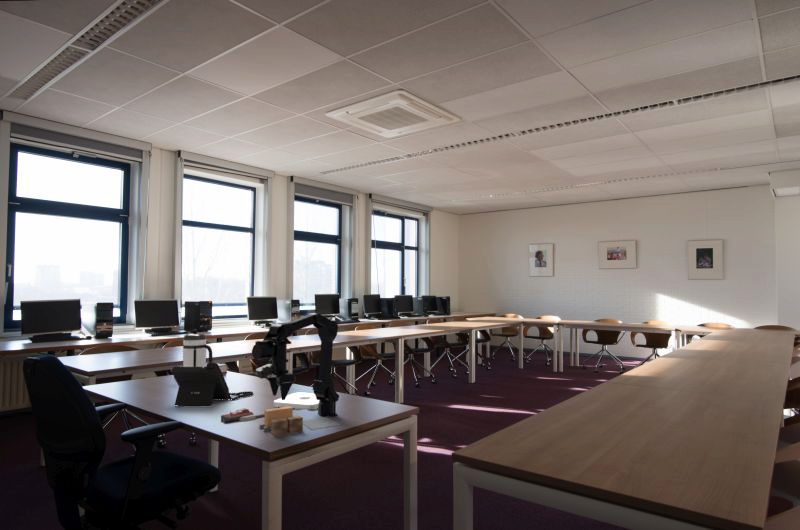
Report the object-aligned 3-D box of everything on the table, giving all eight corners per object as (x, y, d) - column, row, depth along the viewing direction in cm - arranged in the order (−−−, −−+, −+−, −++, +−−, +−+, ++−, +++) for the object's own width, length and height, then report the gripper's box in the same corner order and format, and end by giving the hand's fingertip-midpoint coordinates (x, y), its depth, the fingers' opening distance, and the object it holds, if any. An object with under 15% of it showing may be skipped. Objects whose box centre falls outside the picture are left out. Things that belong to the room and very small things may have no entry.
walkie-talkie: (227, 427, 191) (272, 417, 205) (227, 415, 192) (273, 406, 206) (217, 423, 198) (262, 413, 212) (217, 411, 198) (262, 403, 212)
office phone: (256, 394, 249) (256, 354, 250) (231, 408, 221) (232, 363, 222) (200, 393, 252) (201, 353, 253) (169, 406, 224) (170, 362, 225)
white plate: (313, 411, 215) (313, 405, 215) (270, 407, 222) (270, 401, 222) (336, 400, 236) (336, 394, 236) (296, 397, 243) (296, 391, 243)
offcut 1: (284, 431, 182) (284, 418, 182) (287, 433, 179) (287, 420, 179) (271, 434, 179) (271, 420, 179) (274, 436, 176) (274, 422, 177)
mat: (325, 418, 202) (325, 417, 202) (340, 425, 191) (340, 424, 191) (298, 423, 195) (298, 421, 195) (311, 431, 184) (311, 429, 184)
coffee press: (178, 384, 274) (179, 330, 275) (181, 379, 289) (182, 328, 290) (212, 382, 279) (212, 329, 281) (213, 377, 294) (213, 327, 296)
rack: (290, 423, 195) (290, 418, 195) (305, 432, 183) (305, 426, 183) (257, 428, 188) (258, 423, 188) (271, 438, 175) (271, 432, 175)
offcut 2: (299, 429, 185) (299, 415, 185) (302, 431, 183) (302, 417, 183) (286, 431, 182) (286, 417, 182) (289, 433, 180) (289, 419, 180)
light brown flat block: (289, 424, 192) (289, 406, 192) (292, 426, 189) (292, 407, 190) (264, 428, 186) (264, 409, 186) (267, 430, 184) (267, 411, 184)
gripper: (250, 355, 192) (250, 396, 191) (266, 361, 177) (266, 405, 176) (277, 353, 198) (277, 392, 198) (296, 358, 183) (296, 401, 182)
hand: (278, 397), depth 188 cm, fingers open, 9 cm apart
